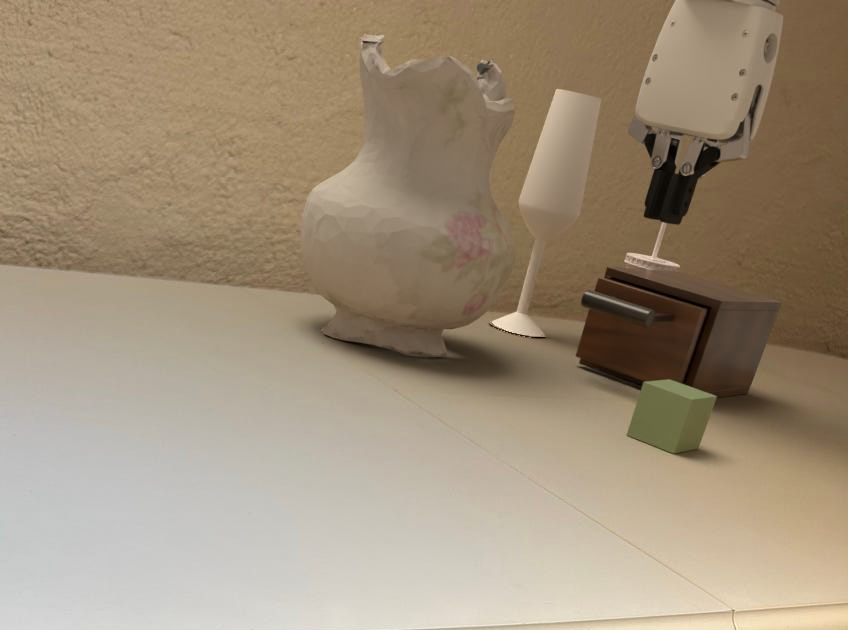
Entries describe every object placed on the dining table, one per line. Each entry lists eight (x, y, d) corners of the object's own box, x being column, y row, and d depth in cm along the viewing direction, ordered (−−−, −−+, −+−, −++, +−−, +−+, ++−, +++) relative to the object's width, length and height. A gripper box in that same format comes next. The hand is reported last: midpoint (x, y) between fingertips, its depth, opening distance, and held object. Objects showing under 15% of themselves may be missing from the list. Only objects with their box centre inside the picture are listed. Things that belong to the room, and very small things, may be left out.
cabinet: (686, 402, 101) (721, 301, 96) (578, 362, 107) (606, 266, 103) (747, 393, 111) (782, 302, 107) (646, 358, 118) (674, 271, 113)
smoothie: (598, 339, 123) (635, 214, 116) (604, 332, 128) (640, 212, 122) (652, 353, 121) (692, 227, 115) (655, 345, 127) (694, 225, 121)
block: (698, 448, 85) (717, 396, 83) (674, 454, 82) (693, 399, 80) (651, 430, 87) (669, 379, 85) (626, 435, 84) (643, 381, 82)
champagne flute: (555, 336, 119) (620, 103, 108) (531, 340, 113) (596, 96, 102) (504, 320, 121) (562, 91, 110) (478, 323, 116) (536, 83, 105)
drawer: (645, 395, 95) (673, 308, 91) (543, 358, 101) (566, 275, 97) (733, 385, 109) (760, 309, 105) (639, 352, 115) (662, 280, 111)
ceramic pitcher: (342, 313, 111) (371, 46, 100) (520, 346, 106) (571, 70, 95) (258, 342, 92) (283, 17, 81) (470, 383, 88) (527, 45, 77)
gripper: (839, 7, 84) (755, 243, 93) (673, -14, 93) (610, 205, 101) (805, -14, 79) (720, 239, 88) (632, -34, 87) (570, 199, 96)
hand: (661, 220), depth 94 cm, fingers closed
